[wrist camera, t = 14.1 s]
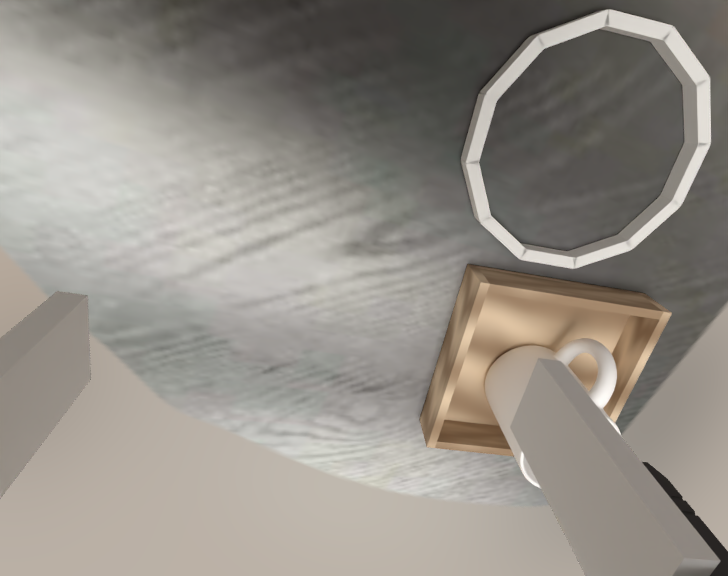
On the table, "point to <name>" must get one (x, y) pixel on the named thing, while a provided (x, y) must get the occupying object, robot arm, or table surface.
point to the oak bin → (523, 328)
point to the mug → (514, 375)
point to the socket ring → (681, 173)
